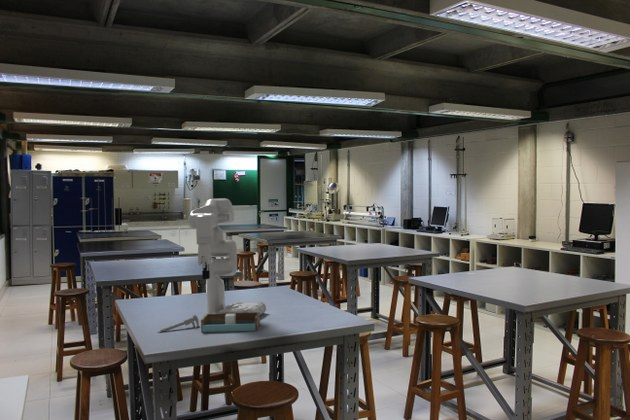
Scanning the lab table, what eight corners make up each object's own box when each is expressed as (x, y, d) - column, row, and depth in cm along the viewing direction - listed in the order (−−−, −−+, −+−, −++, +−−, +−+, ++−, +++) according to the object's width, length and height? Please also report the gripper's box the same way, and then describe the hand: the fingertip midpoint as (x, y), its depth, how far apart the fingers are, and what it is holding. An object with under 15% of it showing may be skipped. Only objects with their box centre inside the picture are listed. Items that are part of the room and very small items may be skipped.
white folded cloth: (269, 311, 283) (269, 298, 282) (250, 324, 256) (250, 309, 255) (238, 310, 288) (237, 297, 287) (216, 323, 261) (215, 309, 260)
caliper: (197, 326, 255) (197, 313, 255) (198, 326, 254) (198, 314, 254) (157, 333, 244) (157, 320, 244) (158, 333, 243) (158, 320, 243)
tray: (207, 325, 253) (207, 319, 253) (257, 324, 253) (257, 317, 253) (202, 332, 241) (202, 325, 241) (255, 330, 242) (255, 324, 241)
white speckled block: (226, 325, 250) (226, 313, 250) (236, 325, 250) (235, 313, 250) (225, 328, 245) (224, 316, 245) (234, 327, 245) (234, 315, 245)
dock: (206, 325, 254) (206, 313, 254) (259, 323, 255) (259, 312, 254) (201, 331, 242) (200, 319, 242) (257, 330, 243) (256, 318, 242)
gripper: (199, 238, 244) (201, 275, 246) (193, 243, 230) (195, 282, 231) (215, 238, 245) (216, 275, 246) (210, 242, 230) (211, 281, 231)
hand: (206, 278), depth 238 cm, fingers closed
